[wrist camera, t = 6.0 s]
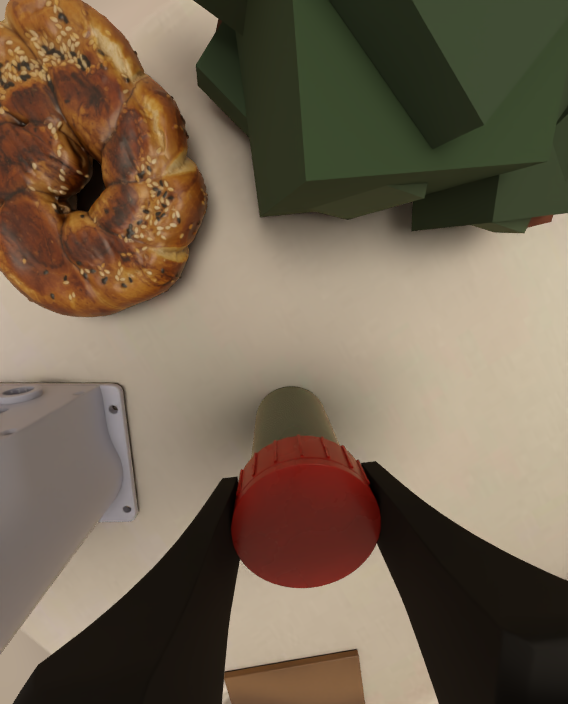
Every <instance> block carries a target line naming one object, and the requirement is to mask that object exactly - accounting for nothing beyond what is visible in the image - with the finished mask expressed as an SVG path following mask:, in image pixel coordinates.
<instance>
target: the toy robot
mask: <svg viewBox="0 0 568 704" xmlns="http://www.w3.org/2000/svg"><path fill="white" fill-rule="evenodd" d="M194 1H195V2H196V3H198V4H199V5H201V6H202V7H203V8H205V9H206V10H207V11H209V12H210V13H212V14H213V15H214V16H216V17H217V18H218V24H217V28H216V33H215V34H214V36H213V38H212V39H211V41H210V43H209V44H208V46H207V48H206V49H205V51H204V52H203V54H202V56H201V57H200V59H199V61H198V62H197V64H196V72H197V82H198V86H199V87H200V88H201V89H202V90H203V91H204V92H205V93H206V94H207V95H208V96H209V97H210V98H211V99H212V100H213V101H214V102H215V103H216V104H217V106H218V107H219V108H220V109H221V110H222V111H223V112H224V113H225V114H226V115H227V116H228V117H229V118H230V119H231V120H232V121H233V122H234V123H235V124H236V125H237V126H238V127H239V128H240V129H241V130H242V131H243V132H244V133H245V134H246V135H247V136H248V137H249V138H250V146H251V153H252V161H253V168H254V176H255V184H256V191H257V199H258V206H259V214H260V217H267V216H277V215H286V214H296V213H306V212H319V213H323V214H327V215H331V216H335V217H339V218H343V219H347V220H348V219H352V218H355V217H359V216H363V215H366V214H370V213H373V212H377V211H381V210H384V209H388V208H391V207H395V206H398V205H402V204H406V203H409V202H413V209H412V228H411V231H418V230H427V229H436V228H445V227H455V226H464V225H472V226H475V227H479V228H482V229H485V230H488V231H492V232H499V233H525V231H526V228H528V227H532V226H536V225H540V224H544V223H548V222H551V221H552V217H553V215H555V214H563V213H568V0H194Z"/></svg>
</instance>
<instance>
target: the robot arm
mask: <svg viewBox="0 0 568 704" xmlns="http://www.w3.org/2000/svg"><path fill="white" fill-rule="evenodd" d="M112 405H114V406H116V407H117V409H118V411H116V410H114V409H113V407H112ZM361 466H362V468H363V470H364V472H365V474H366V476H367V478H368V480H369V482H370V484H369V486H370V488H371V490H372V492H373V494H374V496H375V498H376V500H377V503H378V506H379V509H380V514H381V529H380V534H379V538H378V541H377V545H378V547H379V549H380V551H381V553H382V556H383V558H384V560H385V562H386V565H387V567H388V569H389V571H390V573H391V576H392V578H393V580H394V582H395V584H396V587H397V589H398V591H399V593H400V596H401V598H402V601H403V603H404V606H405V608H406V611H407V614H408V616H409V619H410V622H411V625H412V627H413V630H414V633H415V636H416V638H417V641H418V644H419V647H420V650H421V653H422V656H423V658H424V661H425V664H426V667H427V670H428V673H429V676H430V679H431V682H432V684H433V687H434V690H435V693H436V696H437V699H438V702H439V704H568V581H567V580H564V579H562V578H559V577H557V576H555V575H552V574H550V573H548V572H546V571H544V570H542V569H539V568H537V567H535V566H533V565H531V564H529V563H527V562H525V561H523V560H521V559H519V558H517V557H515V556H513V555H511V554H509V553H507V552H505V551H503V550H501V549H499V548H497V547H496V546H494V545H492V544H490V543H488V542H486V541H485V540H483V539H481V538H479V537H478V536H476V535H474V534H472V533H471V532H469V531H467V530H466V529H464V528H463V527H461V526H459V525H458V524H456V523H455V522H453V521H452V520H450V519H448V518H447V517H445V516H444V515H442V514H441V513H440V512H438V511H437V510H435V509H434V508H433V507H431V506H430V505H428V504H427V503H426V502H424V501H423V500H422V499H420V498H419V497H418V496H417V495H415V494H414V493H413V492H412V491H410V490H409V489H408V488H407V487H405V486H404V485H403V484H402V483H401V482H399V481H398V480H397V479H396V478H395V477H393V476H392V475H391V474H390V473H389V472H388V471H387V470H385V469H384V468H383V467H382V466H381V465H380V464H378V463H377V462H376V461H375V462H366V463H361ZM237 486H238V478H237V477H231V478H223V479H222V480H221V481H220V482H219V484H218V485H217V487H216V488H215V490H214V491H213V493H212V494H211V496H210V497H209V499H208V500H207V502H206V503H205V505H204V506H203V507H202V509H201V510H200V512H199V513H198V514H197V516H196V517H195V519H194V520H193V521H192V523H191V524H190V525H189V526H188V528H187V529H186V530H185V531H184V533H183V534H182V535H181V536H180V538H179V539H178V540H177V541H176V543H175V544H174V545H173V546H172V547H171V549H170V550H169V551H168V552H167V553H166V554H165V555H164V556H163V558H162V559H161V560H160V561H159V562H158V563H157V564H156V565H155V566H154V567H153V568H152V569H151V570H150V571H149V572H148V573H147V574H146V575H145V576H144V577H143V578H142V579H141V580H140V581H139V582H138V583H137V584H136V585H135V586H134V587H133V588H132V589H131V590H130V591H129V592H128V593H127V594H125V595H124V596H123V597H122V598H121V599H120V600H119V601H118V602H117V603H115V604H114V605H113V606H112V607H111V608H110V609H109V610H107V611H106V612H105V613H104V614H103V615H101V616H100V617H99V618H98V619H97V620H96V621H94V622H93V623H92V624H91V625H89V626H88V627H87V628H86V629H85V630H83V631H82V632H81V633H79V634H78V635H77V636H76V637H74V638H73V639H72V640H70V641H69V642H68V643H66V644H65V645H64V646H62V647H61V648H60V649H59V650H57V651H56V652H55V653H53V654H52V655H51V656H49V657H48V658H47V659H45V660H44V661H43V662H41V663H40V664H39V665H38V666H37V667H36V669H35V670H34V672H33V673H32V674H31V676H30V678H29V679H28V681H27V682H26V684H25V685H24V687H23V688H22V690H21V691H20V693H19V694H18V696H17V698H16V699H15V701H14V703H13V704H222V694H223V682H224V670H225V659H226V649H227V638H228V628H229V621H230V613H231V607H232V602H233V596H234V590H235V584H236V578H237V573H238V567H239V561H240V558H239V556H238V554H237V553H236V550H235V548H234V545H233V540H232V535H231V522H232V515H233V509H234V504H235V498H236V492H237ZM127 506H129V507H130V508H128V507H127ZM137 514H138V506H137V498H136V490H135V482H134V474H133V467H132V459H131V451H130V443H129V435H128V427H127V419H126V411H125V403H124V396H123V390H122V388H121V387H120V386H119V385H118V384H114V383H0V654H1V653H2V652H3V650H4V649H5V647H6V646H7V645H8V643H9V642H10V641H11V639H12V638H13V637H14V635H15V634H16V633H17V631H18V630H19V628H20V627H21V626H22V624H23V623H24V622H25V620H26V619H27V618H28V616H29V615H30V614H31V612H32V611H33V610H34V608H35V607H36V605H37V604H38V603H39V601H40V600H41V599H42V597H43V596H44V595H45V593H46V592H47V591H48V589H49V588H50V586H51V585H52V584H53V582H54V581H55V580H56V578H57V577H58V576H59V574H60V573H61V572H62V570H63V569H64V568H65V566H66V565H67V563H68V562H69V561H70V559H71V558H72V557H73V555H74V554H75V553H76V551H77V550H78V549H79V547H80V546H81V544H82V543H83V542H84V540H85V539H86V538H87V536H88V535H89V534H90V532H91V531H92V530H93V528H94V527H95V525H96V524H97V523H98V522H129V521H133V520H134V519H135V518H136V516H137Z"/></svg>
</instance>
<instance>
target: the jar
mask: <svg viewBox="0 0 568 704" xmlns="http://www.w3.org/2000/svg"><path fill="white" fill-rule="evenodd" d="M299 434H300V436H316V437H320V438H321V436H322V437H324V439H327V440H330V441H332V442H335V443H337V444H338V445H339V442H338V440H337V438H336V435H335V433H334V431H333V428H332V426H331V424H330V421H329V419H328V417H327V414H326V412H325V410H324V407H323V405H322V403H321V402H320V400H319V399H318V398H317V397H316V396H315V395H314V394H313V393H312V392H310V391H308V390H306V389H303V388H300V387H283V388H280V389H277V390H275V391H273V392H271V393H270V394H268V395H267V396H266V397H265V398H264V399H263V401H262V402H261V403H260V405H259V407H258V410H257V414H256V421H255V430H254V438H253V447H252V455H251V458H252V457H253V456H254V453H255V452H256V453H257V452H259V451H260V450H261V449H262V448H264V447H266V446H267V445H269V444H271V443H273V441H274V440H276V441H278V440H280V439H283V438H287V437H293V436H297V435H299Z"/></svg>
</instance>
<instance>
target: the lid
mask: <svg viewBox="0 0 568 704" xmlns="http://www.w3.org/2000/svg"><path fill="white" fill-rule="evenodd" d="M369 484H370V482H369V480H368V478H367V476H366V474H365V472H364V470H363V468H362V466H361V464H360V462H359V460H355V458H354V457H353V456H352V455H351V454H350V453H349V452H348V451H347V450H346V449H345V447H344V446H343V445H342V446H340V445H338V444H337V443H335V442H332V441H330V440H327V439H324V437H322V436H321V438H320V437H316V436H300V434H299V435H297V436H293V437H287V438H283V439H280V440H278V441H276V440H274V441H273V443H271V444H269V445H267V446H266V447H264V448H262V449H261V450H260V451H259V452H257V453H256V452H255V453H254V456H253V457H252V458H251V459H250V461H249V462H248V463H247V464H246V466H245V468H244V469H243V470H242V469H241V471H240V476H239V482H238V486H237V492H236V498H235V504H234V509H233V515H232V522H231V535H232V540H233V545H234V548H235V550H236V553H237V554H238V556H239V558H240V559H241V561H242V562H243V563H244V564H245V566H246V567H247V568H248V569H250V570H251V571H252V572H253V573H254V574H256V575H257V576H259V577H261V578H262V579H264V580H266V581H269V582H271V583H274V584H277V585H281V586H285V587H291V588H311V587H318V586H322V585H326V584H330V583H332V582H335V581H338V580H340V579H342V578H344V577H346V576H347V575H349V574H351V573H352V572H353V571H355V570H356V569H357V568H359V567H360V566H361V565H362V564H363V563H364V562H365V561H366V559H367V558H368V557H369V556H370V554H371V553H372V551H373V549H374V548H375V546H376V543H377V541H378V538H379V534H380V529H381V514H380V509H379V506H378V503H377V500H376V498H375V496H374V494H373V492H372V490H371V488H370V486H369Z"/></svg>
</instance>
